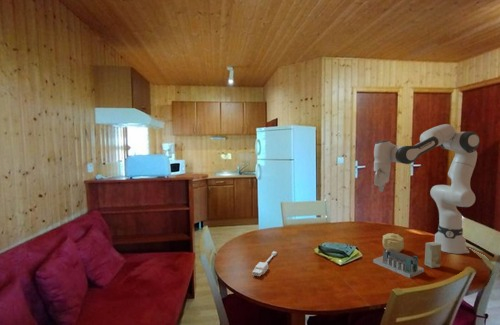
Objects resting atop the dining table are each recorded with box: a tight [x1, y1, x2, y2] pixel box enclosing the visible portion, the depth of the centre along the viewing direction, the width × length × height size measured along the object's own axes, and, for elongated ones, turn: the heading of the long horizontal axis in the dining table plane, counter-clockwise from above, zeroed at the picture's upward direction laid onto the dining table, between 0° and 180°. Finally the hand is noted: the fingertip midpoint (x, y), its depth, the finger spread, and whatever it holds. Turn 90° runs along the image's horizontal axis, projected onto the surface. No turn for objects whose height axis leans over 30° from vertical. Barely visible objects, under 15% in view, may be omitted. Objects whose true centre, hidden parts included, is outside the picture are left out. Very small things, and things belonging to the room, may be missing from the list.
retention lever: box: [386, 249, 419, 265], centre depth 139 cm, size 2×4×15 cm
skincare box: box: [424, 241, 442, 269], centre depth 142 cm, size 6×4×12 cm
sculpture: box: [382, 232, 405, 253], centre depth 163 cm, size 12×12×11 cm
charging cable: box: [251, 250, 278, 277], centre depth 148 cm, size 5×32×3 cm, turn 157°
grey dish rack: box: [372, 248, 425, 279], centre depth 141 cm, size 20×12×8 cm, turn 29°
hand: (381, 191), depth 157 cm, fingers closed
